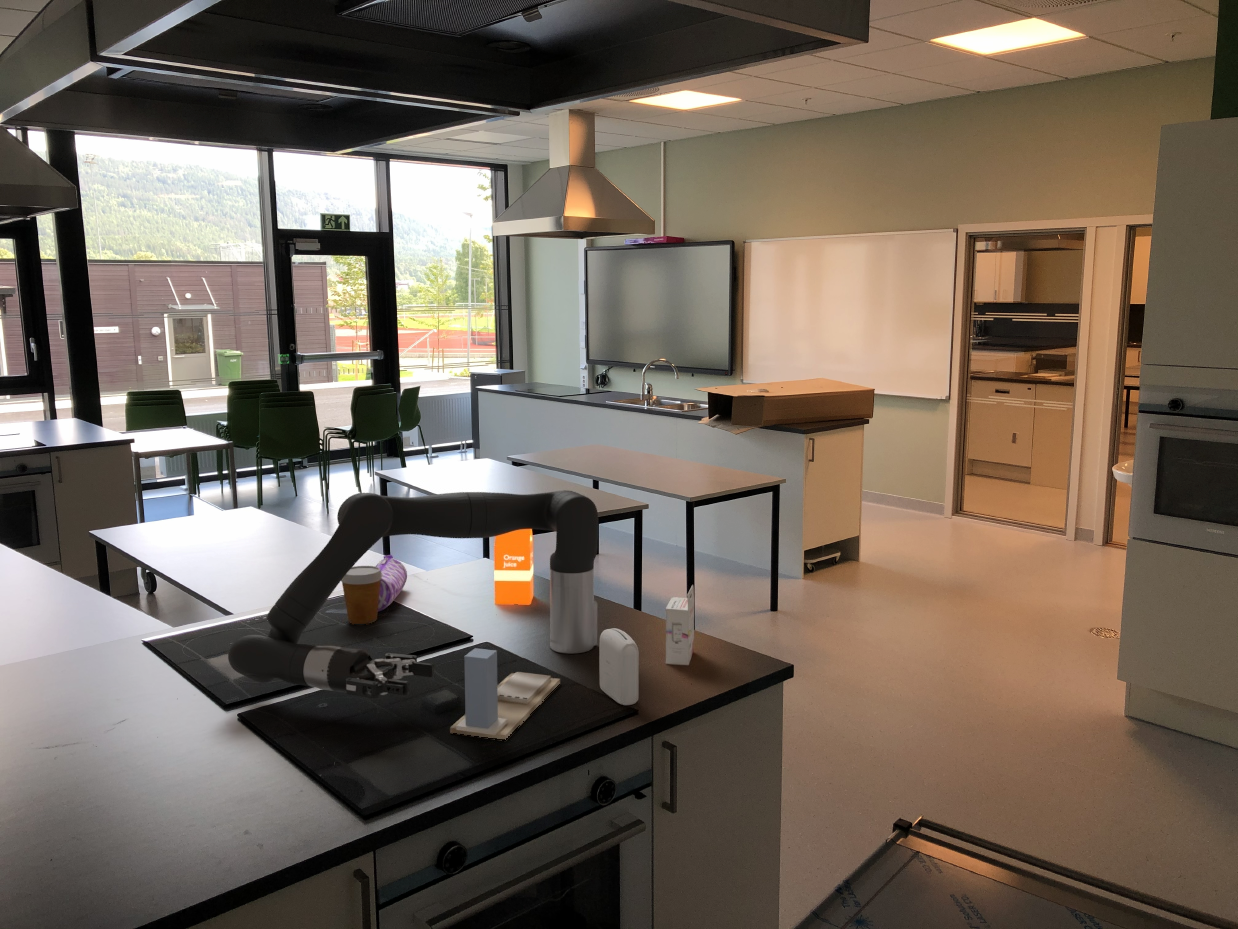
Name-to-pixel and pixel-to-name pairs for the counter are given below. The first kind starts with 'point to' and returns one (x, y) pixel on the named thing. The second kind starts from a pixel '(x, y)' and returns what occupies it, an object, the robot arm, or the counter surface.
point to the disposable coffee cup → (362, 593)
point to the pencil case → (390, 580)
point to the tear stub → (481, 693)
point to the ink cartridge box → (680, 629)
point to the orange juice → (514, 567)
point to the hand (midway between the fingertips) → (421, 679)
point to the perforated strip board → (517, 701)
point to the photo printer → (618, 666)
